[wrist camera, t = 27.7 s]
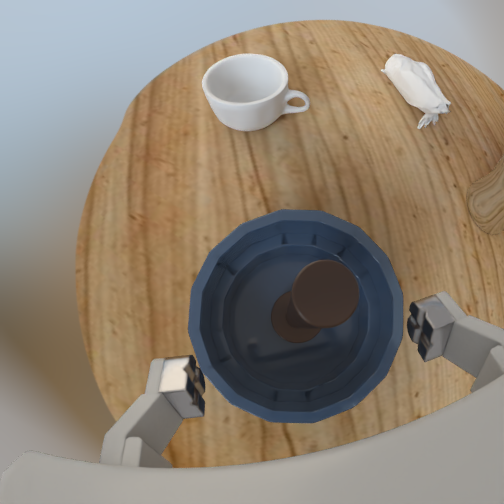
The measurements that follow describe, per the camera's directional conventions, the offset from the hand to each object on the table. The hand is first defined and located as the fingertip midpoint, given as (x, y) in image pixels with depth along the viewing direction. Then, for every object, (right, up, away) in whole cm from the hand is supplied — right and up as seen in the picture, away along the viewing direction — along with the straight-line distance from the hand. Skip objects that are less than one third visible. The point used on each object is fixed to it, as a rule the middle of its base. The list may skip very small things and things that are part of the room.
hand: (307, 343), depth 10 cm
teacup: (-1, +17, +19) cm, 25 cm away
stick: (+2, -2, +13) cm, 13 cm away
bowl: (+1, -2, +13) cm, 14 cm away
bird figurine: (+16, +21, +18) cm, 32 cm away
